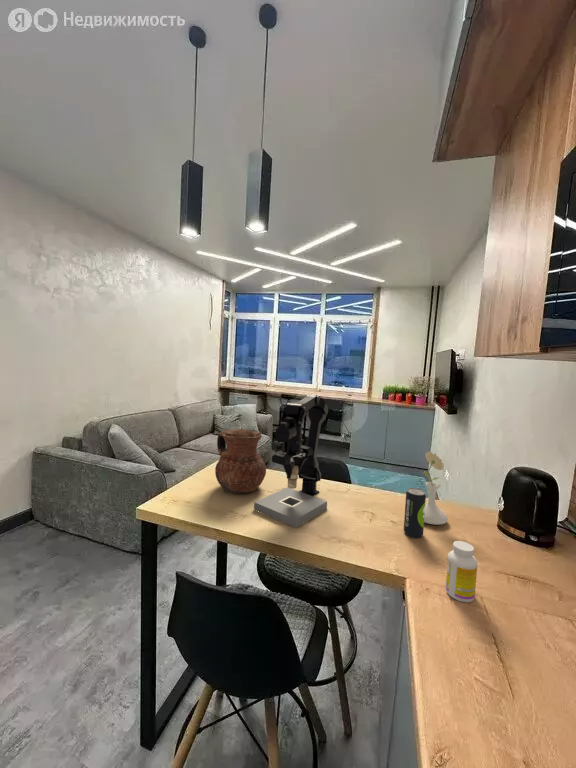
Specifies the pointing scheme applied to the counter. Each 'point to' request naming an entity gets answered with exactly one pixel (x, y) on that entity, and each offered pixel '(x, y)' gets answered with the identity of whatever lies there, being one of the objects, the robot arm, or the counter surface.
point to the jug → (239, 461)
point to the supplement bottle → (461, 572)
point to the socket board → (290, 506)
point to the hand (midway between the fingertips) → (292, 476)
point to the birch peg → (293, 478)
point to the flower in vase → (433, 494)
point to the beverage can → (414, 512)
